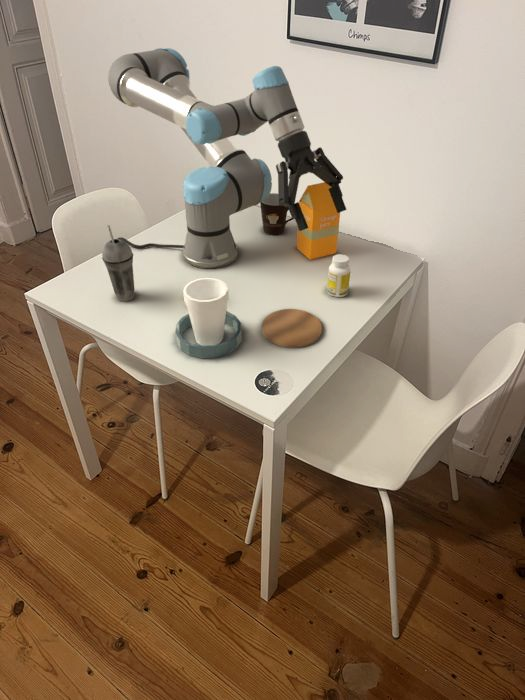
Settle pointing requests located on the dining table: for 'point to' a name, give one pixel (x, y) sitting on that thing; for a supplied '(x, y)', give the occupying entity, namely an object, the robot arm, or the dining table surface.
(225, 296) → the foam cup
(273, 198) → the coffee mug
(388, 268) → the dining table surface
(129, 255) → the beverage cup
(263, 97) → the robot arm
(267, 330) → the wooden coaster
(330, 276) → the supplement bottle
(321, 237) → the orange juice
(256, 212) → the dining table surface
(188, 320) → the ring
